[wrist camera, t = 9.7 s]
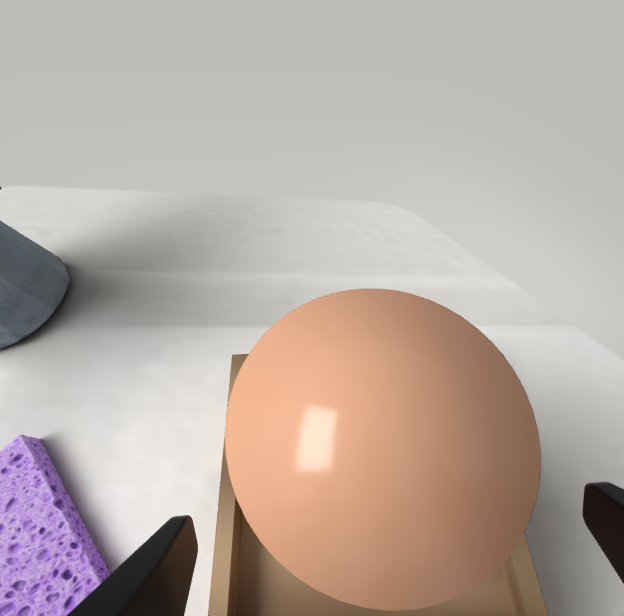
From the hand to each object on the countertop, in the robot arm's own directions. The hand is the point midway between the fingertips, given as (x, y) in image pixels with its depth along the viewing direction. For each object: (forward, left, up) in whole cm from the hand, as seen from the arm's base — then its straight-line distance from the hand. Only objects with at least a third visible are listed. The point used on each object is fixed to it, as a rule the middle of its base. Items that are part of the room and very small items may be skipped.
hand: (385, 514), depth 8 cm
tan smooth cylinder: (+2, 0, -11) cm, 11 cm away
